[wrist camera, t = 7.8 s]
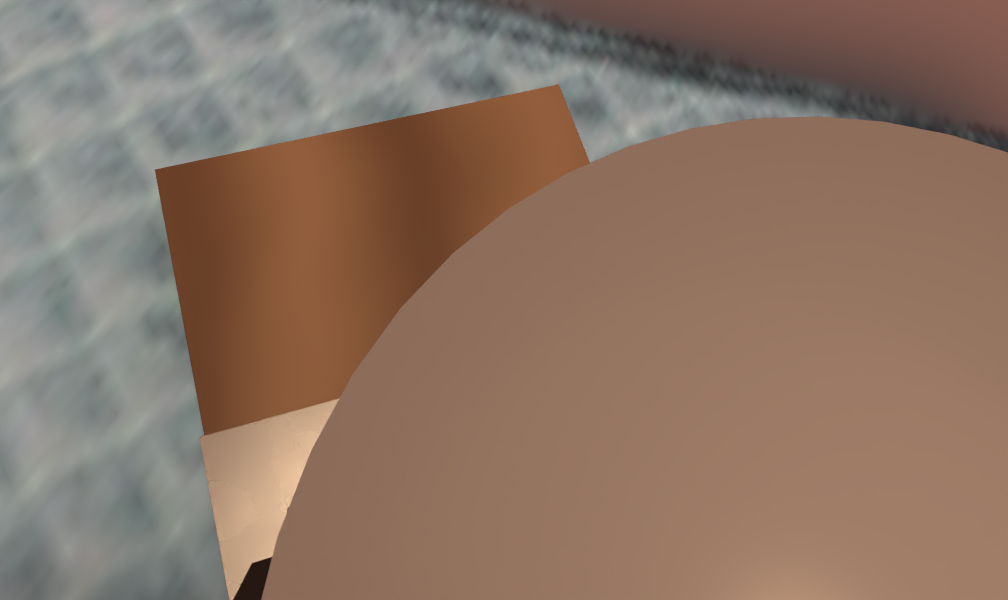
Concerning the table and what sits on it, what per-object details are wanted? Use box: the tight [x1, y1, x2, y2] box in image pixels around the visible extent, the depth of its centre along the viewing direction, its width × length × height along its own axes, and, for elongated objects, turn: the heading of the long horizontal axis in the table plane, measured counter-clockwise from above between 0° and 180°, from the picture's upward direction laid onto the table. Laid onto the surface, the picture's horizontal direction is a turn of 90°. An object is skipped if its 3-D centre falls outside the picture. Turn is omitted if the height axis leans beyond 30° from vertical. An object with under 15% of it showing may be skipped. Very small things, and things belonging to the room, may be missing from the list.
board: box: [155, 85, 590, 436], centre depth 22 cm, size 12×8×1 cm, turn 108°
